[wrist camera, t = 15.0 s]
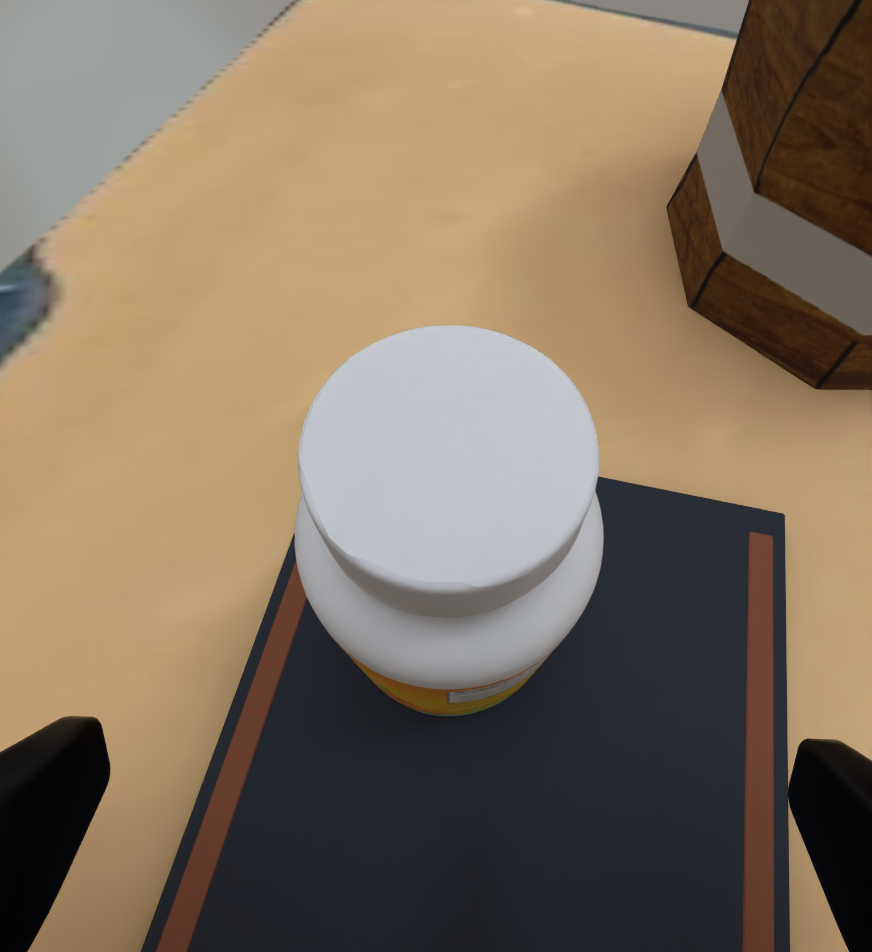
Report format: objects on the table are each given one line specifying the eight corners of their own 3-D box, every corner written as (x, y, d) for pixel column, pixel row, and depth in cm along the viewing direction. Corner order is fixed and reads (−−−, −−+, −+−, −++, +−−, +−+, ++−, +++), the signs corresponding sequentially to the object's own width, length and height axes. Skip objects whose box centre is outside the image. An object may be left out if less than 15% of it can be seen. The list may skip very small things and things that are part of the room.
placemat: (781, 1641, 10) (802, 1698, 9) (17, 1315, 11) (-6, 1344, 11) (775, 520, 18) (786, 512, 17) (337, 432, 20) (333, 422, 19)
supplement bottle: (323, 571, 17) (189, 366, 8) (489, 494, 18) (524, 238, 9) (400, 757, 15) (328, 744, 6) (584, 660, 16) (747, 528, 7)
